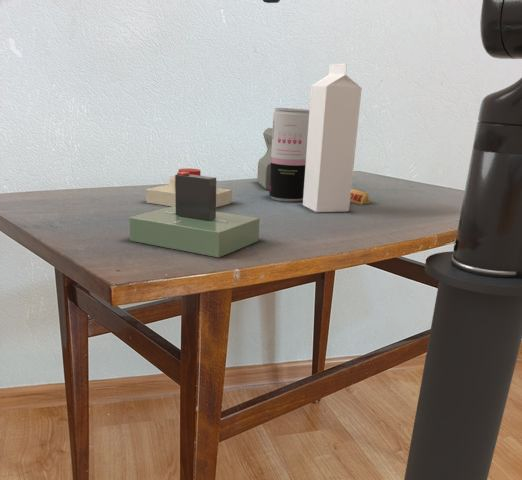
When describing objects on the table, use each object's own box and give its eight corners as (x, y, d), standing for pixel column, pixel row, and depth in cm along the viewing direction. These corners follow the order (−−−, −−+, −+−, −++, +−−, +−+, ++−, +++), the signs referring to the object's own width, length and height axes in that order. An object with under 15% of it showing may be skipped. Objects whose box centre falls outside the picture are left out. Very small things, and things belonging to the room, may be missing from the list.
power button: (204, 180, 98) (204, 169, 97) (192, 183, 95) (192, 172, 94) (186, 178, 99) (186, 167, 99) (174, 180, 96) (173, 169, 96)
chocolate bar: (360, 205, 105) (361, 193, 104) (317, 194, 114) (318, 182, 113) (370, 204, 106) (372, 192, 105) (327, 193, 115) (328, 181, 114)
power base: (231, 203, 100) (232, 178, 98) (202, 211, 93) (202, 185, 91) (177, 195, 105) (177, 172, 103) (146, 202, 97) (145, 177, 96)
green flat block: (258, 241, 77) (259, 216, 76) (218, 257, 69) (219, 231, 67) (176, 226, 82) (175, 203, 81) (130, 241, 74) (128, 215, 73)
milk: (316, 212, 96) (327, 62, 87) (302, 205, 101) (311, 62, 92) (349, 211, 98) (364, 64, 89) (334, 204, 103) (346, 64, 94)
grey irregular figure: (303, 193, 112) (307, 134, 107) (256, 191, 112) (258, 132, 107) (299, 181, 127) (303, 128, 122) (257, 179, 127) (259, 126, 122)
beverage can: (274, 194, 110) (278, 107, 104) (308, 197, 109) (315, 109, 102) (265, 199, 104) (269, 108, 98) (301, 203, 103) (307, 110, 97)
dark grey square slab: (215, 218, 74) (216, 175, 72) (209, 220, 73) (209, 177, 70) (182, 213, 76) (182, 171, 74) (175, 215, 75) (174, 172, 72)
